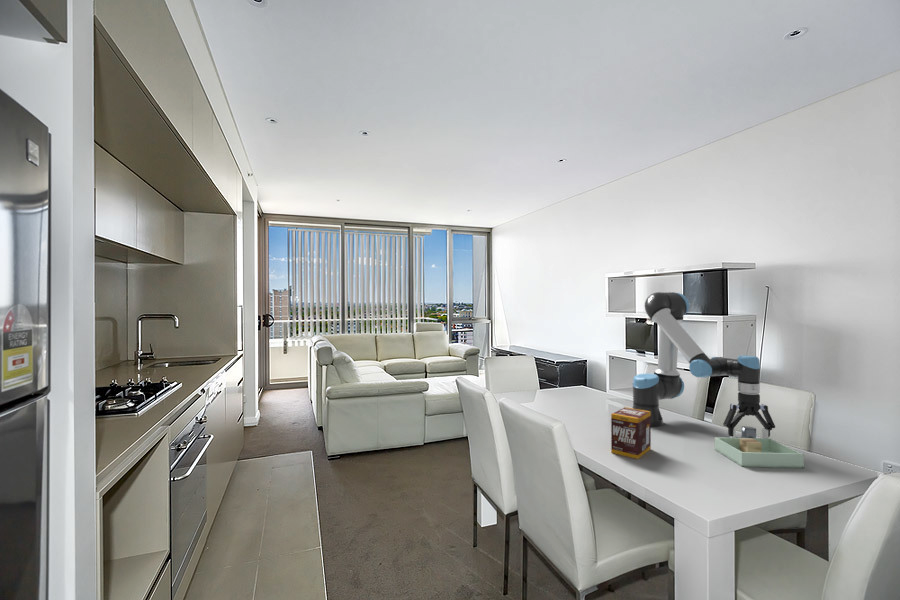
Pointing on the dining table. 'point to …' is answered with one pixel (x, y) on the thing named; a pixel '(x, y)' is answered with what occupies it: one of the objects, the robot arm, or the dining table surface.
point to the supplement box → (631, 432)
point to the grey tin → (748, 432)
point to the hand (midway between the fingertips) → (749, 444)
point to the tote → (760, 454)
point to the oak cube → (750, 445)
